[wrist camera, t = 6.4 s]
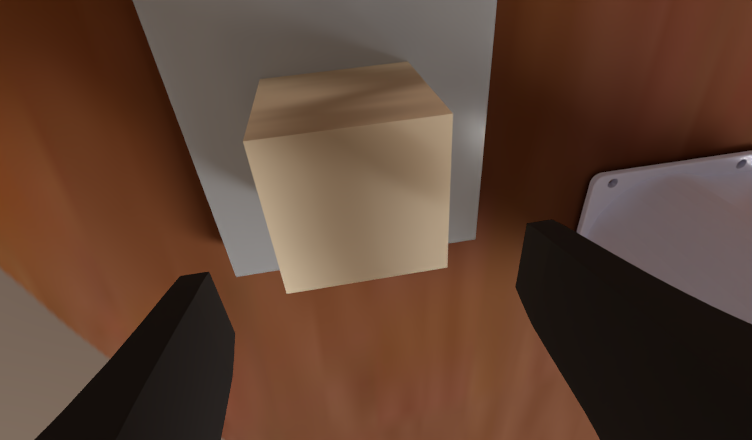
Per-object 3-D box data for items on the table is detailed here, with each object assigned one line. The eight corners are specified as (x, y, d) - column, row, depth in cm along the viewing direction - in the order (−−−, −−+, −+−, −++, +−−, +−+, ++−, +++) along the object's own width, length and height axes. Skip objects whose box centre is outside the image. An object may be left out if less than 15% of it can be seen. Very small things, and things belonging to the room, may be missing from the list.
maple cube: (407, 61, 14) (452, 113, 10) (411, 187, 17) (447, 267, 13) (259, 79, 13) (242, 141, 9) (289, 204, 16) (286, 293, 12)
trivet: (477, -43, 14) (500, -40, 12) (461, 215, 21) (475, 239, 19) (151, -12, 13) (130, -4, 12) (241, 248, 20) (236, 276, 18)
